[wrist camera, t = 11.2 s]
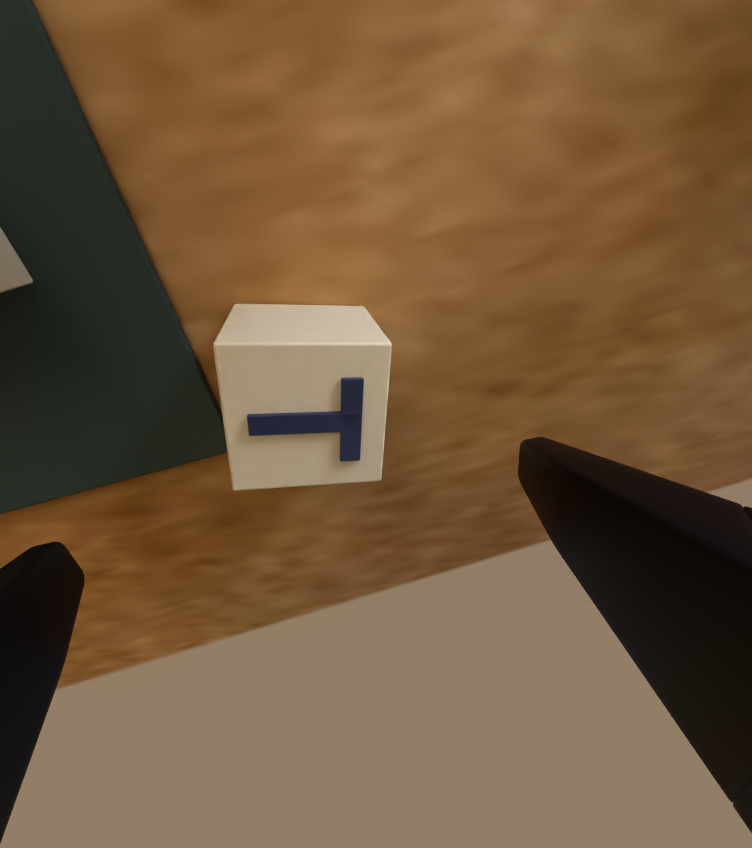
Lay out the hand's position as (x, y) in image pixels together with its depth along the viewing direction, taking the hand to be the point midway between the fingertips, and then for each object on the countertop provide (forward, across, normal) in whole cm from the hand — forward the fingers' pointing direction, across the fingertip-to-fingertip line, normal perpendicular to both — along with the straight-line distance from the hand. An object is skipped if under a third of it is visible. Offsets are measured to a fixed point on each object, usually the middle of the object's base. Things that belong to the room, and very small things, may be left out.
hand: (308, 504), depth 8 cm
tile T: (+8, 0, 0) cm, 8 cm away
